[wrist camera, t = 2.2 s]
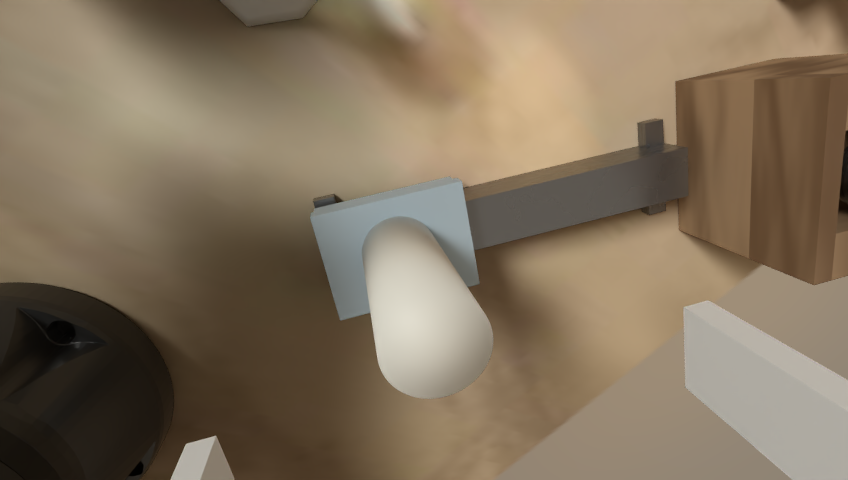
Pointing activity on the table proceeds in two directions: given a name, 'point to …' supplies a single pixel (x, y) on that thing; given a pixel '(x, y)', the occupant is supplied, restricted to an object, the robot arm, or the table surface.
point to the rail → (576, 190)
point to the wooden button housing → (769, 163)
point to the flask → (268, 10)
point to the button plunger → (844, 178)
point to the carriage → (410, 283)
